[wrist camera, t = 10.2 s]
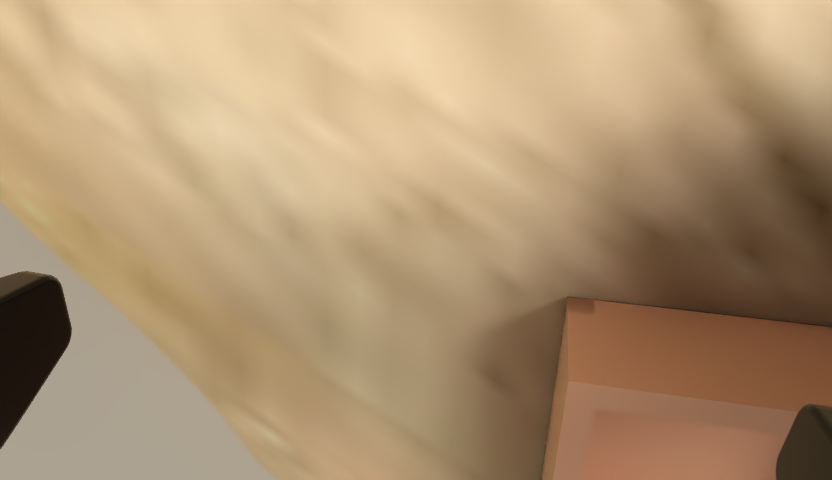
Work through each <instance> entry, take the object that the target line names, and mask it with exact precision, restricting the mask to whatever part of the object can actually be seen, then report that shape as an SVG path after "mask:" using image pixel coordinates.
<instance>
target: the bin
mask: <svg viewBox="0 0 832 480" xmlns="http://www.w3.org/2000/svg"><path fill="white" fill-rule="evenodd" d="M808 404H817V405H822V406H828V407H832V327H826V326H817V325H808V324H799V323H791V322H782V321H773V320H764V319H756V318H747V317H738V316H730V315H721V314H712V313H703V312H695V311H686V310H677V309H668V308H660V307H651V306H642V305H633V304H625V303H616V302H607V301H599V300H590V299H581V298H572V297H567V304H566V311H565V318H564V324H563V331H562V338H561V345H560V352H559V359H558V366H557V372H556V379H555V386H554V393H553V400H552V407H551V414H550V421H549V427H548V434H547V441H546V448H545V455H544V462H543V469H542V475H541V480H776V462H777V458H778V455H779V452H780V450H781V448H782V446H783V444H784V441H785V439H786V437H787V435H788V433H789V431H790V428H791V426H792V424H793V422H794V420H795V417H796V415H797V413H798V412H799V410H800V409H801V408H802V407H803V406H805V405H808Z"/></svg>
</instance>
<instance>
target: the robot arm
mask: <svg viewBox="0 0 832 480" xmlns="http://www.w3.org/2000/svg"><path fill="white" fill-rule="evenodd" d="M71 331H72V328H71V323H70V319H69V314H68V310H67V306H66V302H65V298H64V294H63V289H62V286H61V283H60V282H59V281H58V279H57V278H55V277H53V276H51V275H47V274H41V273H35V272H28V271H25V272H18V273H15V274H11V275H8V276H5V277H2V278H0V449H1V448H2V446H3V445H4V443H5V442H6V440H7V439H8V438H9V436H10V434H11V433H12V432H13V430H14V429H15V427H16V425H17V424H18V423H19V421H20V419H21V418H22V416H23V415H24V413H25V412H26V410H27V409H28V407H29V406H30V404H31V402H32V401H33V399H34V398H35V396H36V395H37V393H38V392H39V390H40V389H41V387H42V385H43V384H44V382H45V381H46V379H47V378H48V376H49V375H50V373H51V371H52V370H53V368H54V367H55V365H56V364H57V362H58V361H59V359H60V357H61V356H62V354H63V353H64V351H65V350H66V348H67V346H68V344H69V342H70V338H71ZM776 480H832V407H828V406H822V405H817V404H808V405H805V406H803V407H802V408H801V409H800V410H799V412H798V413H797V415H796V417H795V420H794V422H793V424H792V426H791V428H790V431H789V433H788V435H787V437H786V439H785V441H784V444H783V446H782V448H781V450H780V452H779V455H778V458H777V462H776Z"/></svg>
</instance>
